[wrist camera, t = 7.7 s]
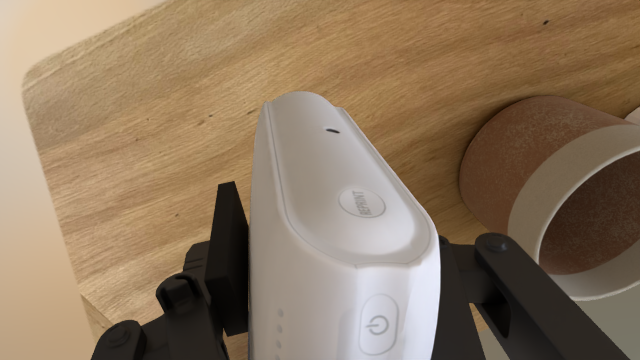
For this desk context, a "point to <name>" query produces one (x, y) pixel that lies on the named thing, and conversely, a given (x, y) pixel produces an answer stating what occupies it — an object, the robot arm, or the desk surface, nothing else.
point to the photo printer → (335, 243)
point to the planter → (561, 191)
